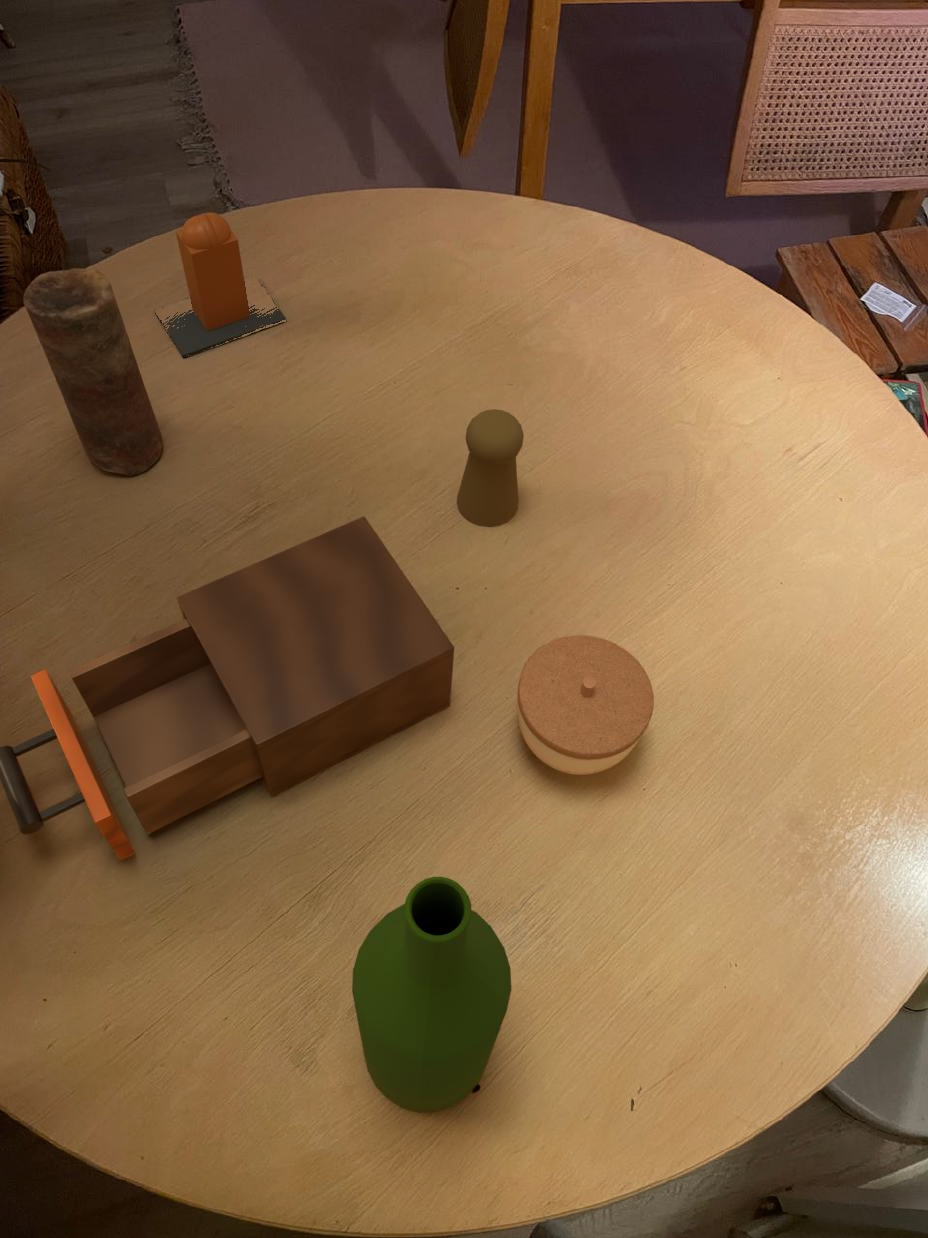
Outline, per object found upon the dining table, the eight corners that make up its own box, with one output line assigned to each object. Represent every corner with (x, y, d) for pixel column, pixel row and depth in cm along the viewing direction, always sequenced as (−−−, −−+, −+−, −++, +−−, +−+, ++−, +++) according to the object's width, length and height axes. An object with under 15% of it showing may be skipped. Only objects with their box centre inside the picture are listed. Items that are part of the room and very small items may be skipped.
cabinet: (271, 797, 84) (256, 745, 75) (197, 659, 90) (176, 597, 82) (450, 706, 89) (454, 647, 81) (367, 581, 95) (364, 515, 87)
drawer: (56, 893, 78) (24, 857, 71) (-2, 750, 84) (-37, 704, 77) (304, 767, 84) (296, 723, 77) (234, 642, 90) (221, 591, 83)
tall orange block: (207, 331, 111) (187, 237, 101) (192, 309, 113) (171, 213, 103) (250, 316, 113) (235, 221, 102) (235, 294, 114) (218, 199, 104)
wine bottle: (477, 972, 77) (517, 802, 50) (498, 1102, 72) (554, 995, 45) (357, 990, 76) (330, 826, 48) (371, 1123, 71) (348, 1026, 44)
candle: (72, 468, 101) (4, 306, 84) (104, 415, 105) (45, 249, 88) (146, 485, 100) (93, 325, 83) (175, 431, 104) (130, 267, 87)
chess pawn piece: (447, 486, 102) (452, 407, 93) (504, 471, 103) (514, 392, 94) (469, 533, 99) (476, 456, 90) (527, 517, 100) (540, 440, 91)
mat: (183, 358, 109) (182, 355, 109) (154, 312, 113) (153, 309, 113) (286, 321, 113) (286, 318, 113) (255, 278, 117) (254, 274, 116)
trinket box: (542, 661, 92) (555, 603, 84) (654, 713, 89) (679, 658, 81) (488, 758, 86) (496, 706, 78) (605, 817, 84) (626, 769, 76)
